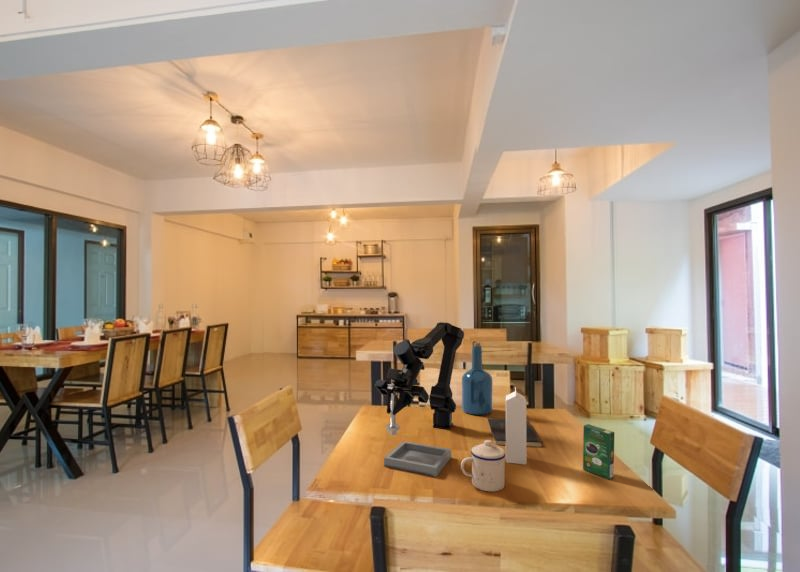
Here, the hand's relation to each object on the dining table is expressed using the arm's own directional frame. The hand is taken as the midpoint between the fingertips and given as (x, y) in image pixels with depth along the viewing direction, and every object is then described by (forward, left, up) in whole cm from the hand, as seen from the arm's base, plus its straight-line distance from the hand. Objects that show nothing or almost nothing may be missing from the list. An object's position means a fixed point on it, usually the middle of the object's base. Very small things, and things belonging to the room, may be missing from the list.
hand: (390, 413), depth 124 cm
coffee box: (-60, -14, -14) cm, 63 cm away
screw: (0, -1, -7) cm, 7 cm away
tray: (-10, 0, -13) cm, 16 cm away
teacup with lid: (-31, +6, -14) cm, 34 cm away
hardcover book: (-33, -37, -14) cm, 51 cm away
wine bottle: (-14, -58, -14) cm, 61 cm away
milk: (-37, -14, -14) cm, 41 cm away
